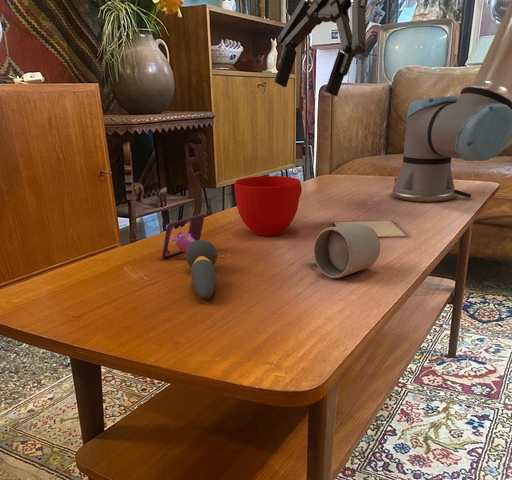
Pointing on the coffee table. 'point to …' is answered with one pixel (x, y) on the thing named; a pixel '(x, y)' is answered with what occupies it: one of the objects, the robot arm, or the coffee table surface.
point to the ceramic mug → (345, 249)
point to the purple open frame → (183, 234)
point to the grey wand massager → (202, 267)
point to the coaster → (378, 228)
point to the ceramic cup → (267, 203)
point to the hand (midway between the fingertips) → (304, 89)
